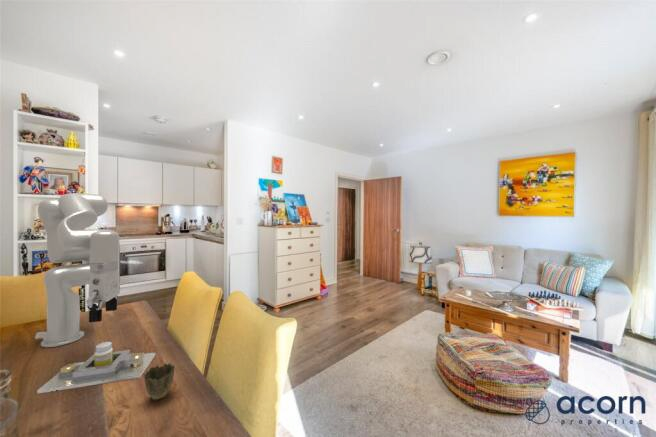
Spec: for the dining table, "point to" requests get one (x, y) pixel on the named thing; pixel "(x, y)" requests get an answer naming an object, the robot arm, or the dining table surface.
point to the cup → (159, 380)
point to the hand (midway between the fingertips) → (103, 315)
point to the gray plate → (99, 371)
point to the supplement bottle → (103, 354)
